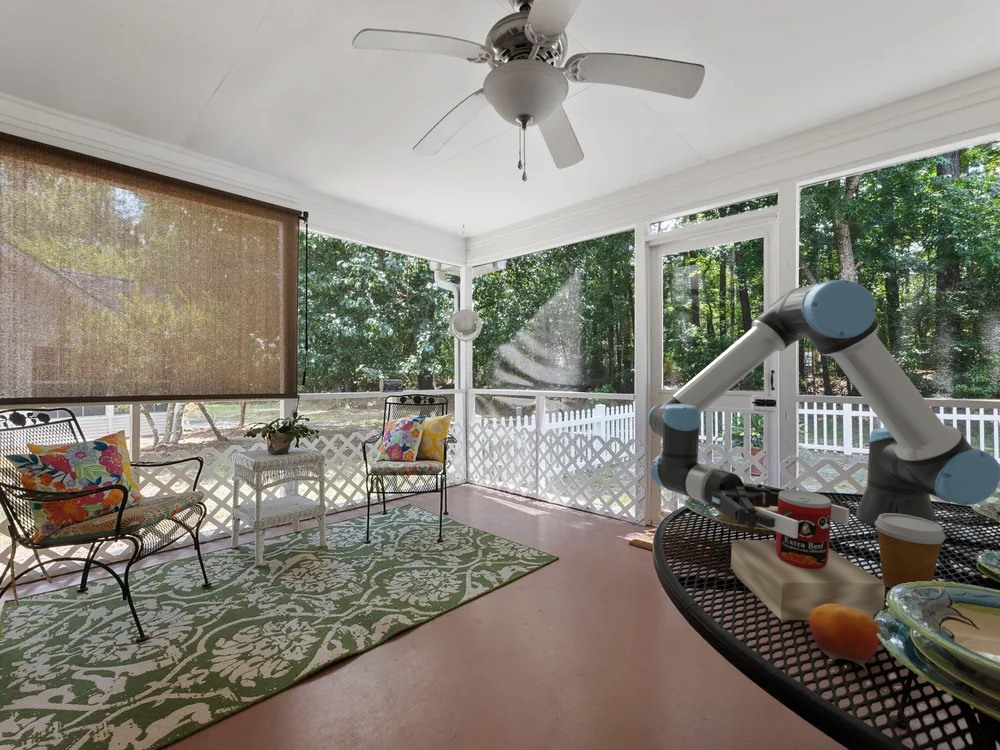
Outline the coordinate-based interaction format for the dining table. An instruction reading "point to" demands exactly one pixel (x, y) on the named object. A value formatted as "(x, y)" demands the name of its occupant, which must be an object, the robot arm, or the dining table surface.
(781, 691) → the dining table surface
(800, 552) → the canned food
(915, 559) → the disposable coffee cup
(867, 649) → the fruit
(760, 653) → the dining table surface
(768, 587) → the birch block
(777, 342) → the robot arm
